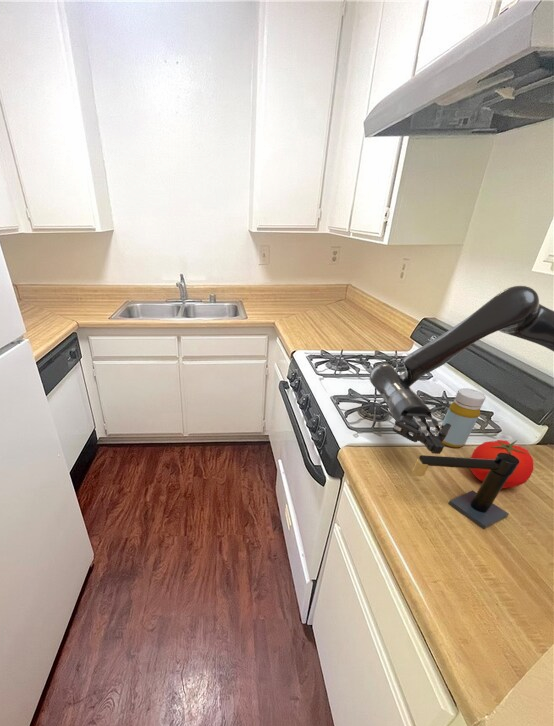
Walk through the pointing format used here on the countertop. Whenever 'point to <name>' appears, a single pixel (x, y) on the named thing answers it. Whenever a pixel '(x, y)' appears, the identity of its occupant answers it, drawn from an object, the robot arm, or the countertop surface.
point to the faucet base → (482, 501)
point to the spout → (468, 463)
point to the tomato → (500, 446)
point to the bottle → (462, 416)
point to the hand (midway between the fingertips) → (438, 450)
